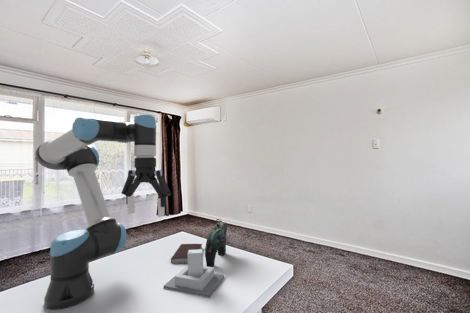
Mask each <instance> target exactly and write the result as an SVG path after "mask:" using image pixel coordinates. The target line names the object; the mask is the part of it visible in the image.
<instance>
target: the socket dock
mask: <svg viewBox="0 0 470 313" xmlns="http://www.w3.org/2000/svg"><path fill="white" fill-rule="evenodd" d="M225 276H226V275H224V274H219V273H215V267H214V266H213V267H208V266H207V265H203V275H202V276H201V277H200V278H198V277H192V276H188V264H187V265H186V266H185V267H184V268H182V269H181V270H180V271H179V272H177V274H176V275H174V276H173V277H172V278H171V279H170V280H169V281H167V282H166V283H165V284H163V289H164V290H165V289H166V290H171V291H176V292H179V293H184V294H190V295H195V296H199V297H205V298H211V296H212V295H213V294H214V293H215V291H216V289H217V288H219V286H220V284H221V283H222V282H223V280H224V279H225Z"/></svg>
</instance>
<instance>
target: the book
mask: <svg viewBox="0 0 470 313" xmlns="http://www.w3.org/2000/svg"><path fill="white" fill-rule="evenodd" d="M202 246H203V243H181V244H180V245H179V247H178V248H177V250H176V251H175V252H174V253H173V255H172V256H171V257H170V264H188V256H187V254H188V251H189V250H197V249H203V247H202Z"/></svg>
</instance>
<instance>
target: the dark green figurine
mask: <svg viewBox="0 0 470 313" xmlns="http://www.w3.org/2000/svg"><path fill="white" fill-rule="evenodd" d="M227 225H228V224H227V223H226V222H223V221H222V220H221V219H220V218H216V220H215V227H213V228H211V230H210V232H209V234H208V236H207V239H206V243H205V247H204V256H205V263H206V264H205V266H208V267H214V266H215V262H216V256H217V254H218V255H219V256H223V257H224V256H225V255H226V254H227V253H226V252H227V232H228V226H227Z"/></svg>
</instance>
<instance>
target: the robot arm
mask: <svg viewBox="0 0 470 313" xmlns="http://www.w3.org/2000/svg"><path fill="white" fill-rule="evenodd" d="M98 141H100V142H116V143H117V142H118V143H120V144H121V143H123V144H124V143H125V144H126V143H127V144H128V143H133V146H134V148H133V149H134V150H133V151H134V152H133V153H134V154H133V156H134V159H133V160H134V163H133V164H134V165H133V166H134V168H135V169H129V170H128V171H127V178H126V180H125V183H124V186H123V188H122V191H121V195H123V196H125V197H126V198H125V199H126V203H125V204H126V205H127V215H132V214H134V213H135V212H136V211H135V208H136V207H135V195H134V193H135V192H136V191H137V189H138V187H139V186H140V185H141V183H149V185H151V186H152V187H153V189H154V190H155V192H156V194H157V195H158V196H159V198H157V217H158V218H161V217H164V216H165V214H166V212H165V207H166V206H167V197H169V196H171V195H172V193H171V191H170V188H169V185H168V183H167V180H166V178H165V176H164V170H163V169H160V170H158V169H157V170H156V167H157V158H156V156H157V122H156V117H155V116H153V115H151V114H142V113H140V114H136V115H134V118H133V122H132V121H131V122H123V121H117V120H110V119H109V120H108V119H102V118H95V117H90V116H87V117H86V116H79V117H76V118H75V119H74V121H73V123H72V129H70V130H68V131H67V132H65V133H63V134H61V135H60V136H58V137H57V138H55V139H53V140H48V141H44V142H43V143H41V144H40V145H39V146H38V147H37V148H36V149H35V153H34V156H35V160H36V161H37V162H38V164H40V165H41V167H44V168H46V169H49V170H52V171H53V170H54V171H57V170H58V171H60V170H61V171H62V170H63V171H65V170H66V172H67V174H68V176H70V177H72V178H73V181H74V183H75V187H76V189H77V192H78V195H79V200H80V203H81V204H82V209H83V212H84V216H85V218H86V222H87V224H88V225H87V227H86V228H85V229H84V228H81V229H80V228H79V229H77V230H76V229H75V230H71V231H67V232H64V233H62V234H59V235H58V236H56V237H55V238H53V240H52V241H51V244H50V251H49V256H50V258H49V259H50V260H49V261H50V281H49V285H48V286H47V287H48V288H47V290H46V293H45V295H44V301H43V302H44V304H43V305H44V307H45V308H46V309H48V310H49V309H50V310H62V309H65V308H70V307H73V306H75V305H78V304H81V303H83V302H84V301H86V300H87V299H89V298H90V297H91V296H92V295H94V292H95V283H94V281H93V278H92V276H91V274H90V269H89V267H90V265H89V263H91V262H93V261H97V260H100V259H102V258H105V257H107V256H110V255H113V254H115V253H117V252H120V251H121V250H122V249H124V247H125V245H126V241H127V235H128V234H127V230H126V227H125V226H124V224H122V223H119V222H118V223H117V219H116V218H115V217H111V214H110V212H109V209H108V206H107V203H106V201H105V197H104V194H103V191H102V189H101V186H100V183H99V180H98V176H97V174H96V171H97V170H98V167H99V164H100V154H99V152H98V150H97V149H96V148H95V147H94V146H92V144H94V143H96V142H98Z"/></svg>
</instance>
